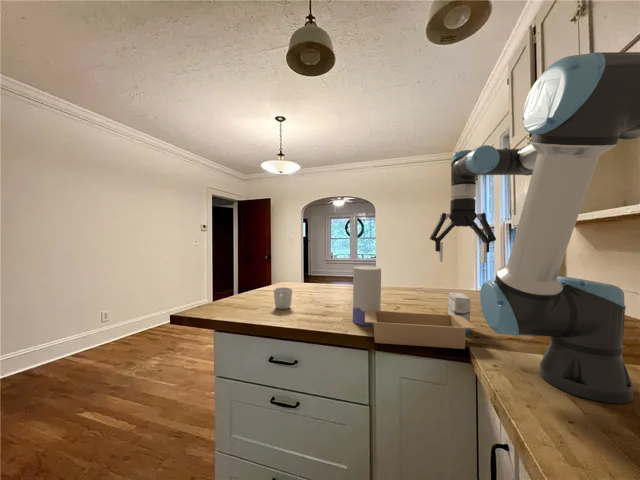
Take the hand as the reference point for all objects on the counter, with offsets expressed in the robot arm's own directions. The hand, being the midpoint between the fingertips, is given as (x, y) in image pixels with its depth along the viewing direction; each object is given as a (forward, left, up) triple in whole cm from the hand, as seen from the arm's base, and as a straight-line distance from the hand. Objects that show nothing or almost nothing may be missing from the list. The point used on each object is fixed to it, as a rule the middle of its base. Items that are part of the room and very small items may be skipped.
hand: (461, 262), depth 97 cm
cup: (+14, +66, -23) cm, 72 cm away
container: (+3, +31, -23) cm, 39 cm away
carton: (-10, +16, -23) cm, 30 cm away
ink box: (+1, 0, -23) cm, 23 cm away
